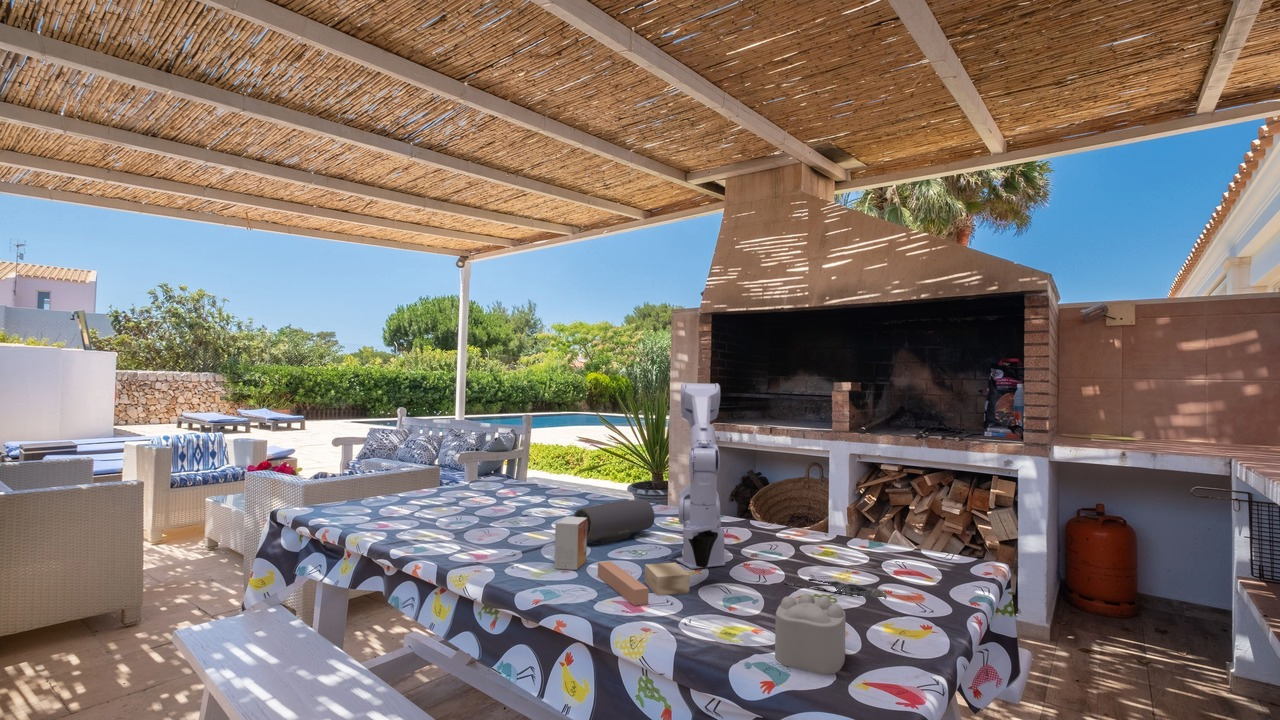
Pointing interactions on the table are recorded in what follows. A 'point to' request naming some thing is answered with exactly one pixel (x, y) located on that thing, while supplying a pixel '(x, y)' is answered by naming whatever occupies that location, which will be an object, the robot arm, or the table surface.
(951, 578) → the table surface
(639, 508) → the bluetooth speaker
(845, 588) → the driftwood
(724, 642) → the table surface
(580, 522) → the small box
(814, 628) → the lumpy-topped squat cylinder
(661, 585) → the beech block
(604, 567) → the terracotta batten
